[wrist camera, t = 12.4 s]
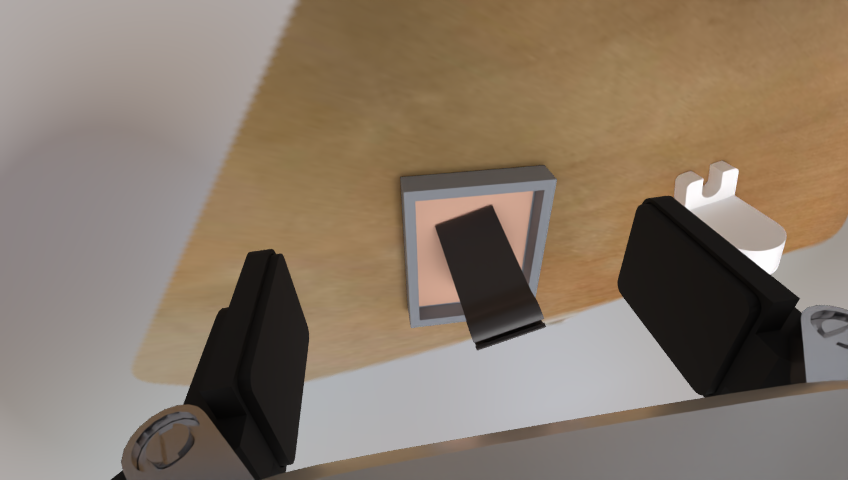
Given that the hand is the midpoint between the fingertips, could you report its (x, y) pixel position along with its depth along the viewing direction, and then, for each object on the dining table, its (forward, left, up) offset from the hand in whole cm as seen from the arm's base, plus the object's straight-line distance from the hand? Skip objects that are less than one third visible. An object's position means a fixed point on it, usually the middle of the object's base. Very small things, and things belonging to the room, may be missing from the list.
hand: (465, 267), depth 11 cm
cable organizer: (-33, +17, -27) cm, 46 cm away
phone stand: (-7, +19, -26) cm, 33 cm away
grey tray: (-7, +19, -27) cm, 34 cm away
